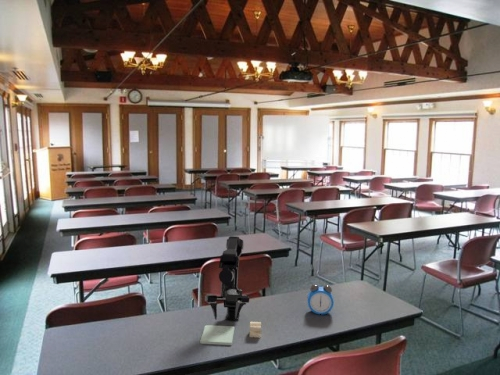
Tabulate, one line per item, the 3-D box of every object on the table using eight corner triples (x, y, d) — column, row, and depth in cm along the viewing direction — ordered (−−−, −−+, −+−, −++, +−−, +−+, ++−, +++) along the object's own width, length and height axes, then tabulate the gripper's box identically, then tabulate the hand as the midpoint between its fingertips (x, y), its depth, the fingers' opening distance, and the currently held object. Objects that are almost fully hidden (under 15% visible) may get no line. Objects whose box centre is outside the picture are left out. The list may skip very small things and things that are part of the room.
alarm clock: (307, 314, 198) (308, 286, 196) (307, 308, 204) (308, 282, 202) (332, 316, 197) (334, 288, 194) (331, 310, 203) (333, 283, 200)
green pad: (205, 327, 182) (205, 325, 182) (234, 328, 182) (234, 326, 181) (200, 343, 168) (200, 341, 168) (231, 345, 168) (231, 342, 168)
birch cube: (250, 331, 180) (250, 321, 179) (260, 332, 180) (261, 322, 179) (249, 337, 175) (249, 327, 174) (260, 337, 175) (260, 327, 174)
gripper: (211, 283, 157) (209, 322, 154) (254, 283, 163) (252, 322, 160) (205, 281, 167) (203, 318, 165) (245, 281, 173) (244, 317, 170)
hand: (226, 319), depth 165 cm, fingers open, 9 cm apart
